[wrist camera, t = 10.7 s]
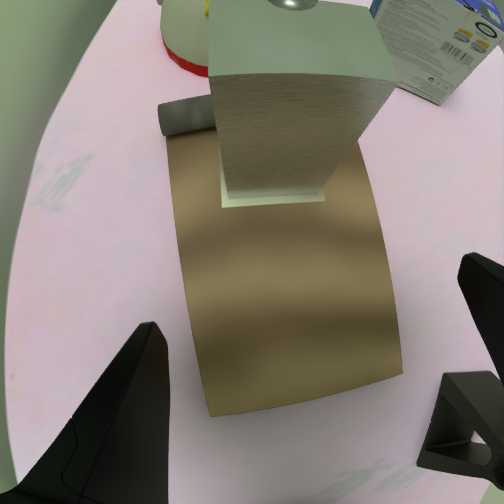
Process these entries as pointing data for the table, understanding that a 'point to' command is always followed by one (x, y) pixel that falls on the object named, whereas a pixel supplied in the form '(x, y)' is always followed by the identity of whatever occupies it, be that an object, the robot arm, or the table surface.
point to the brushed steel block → (292, 90)
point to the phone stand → (467, 428)
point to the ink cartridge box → (437, 41)
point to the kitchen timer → (186, 33)
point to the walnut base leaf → (278, 277)
